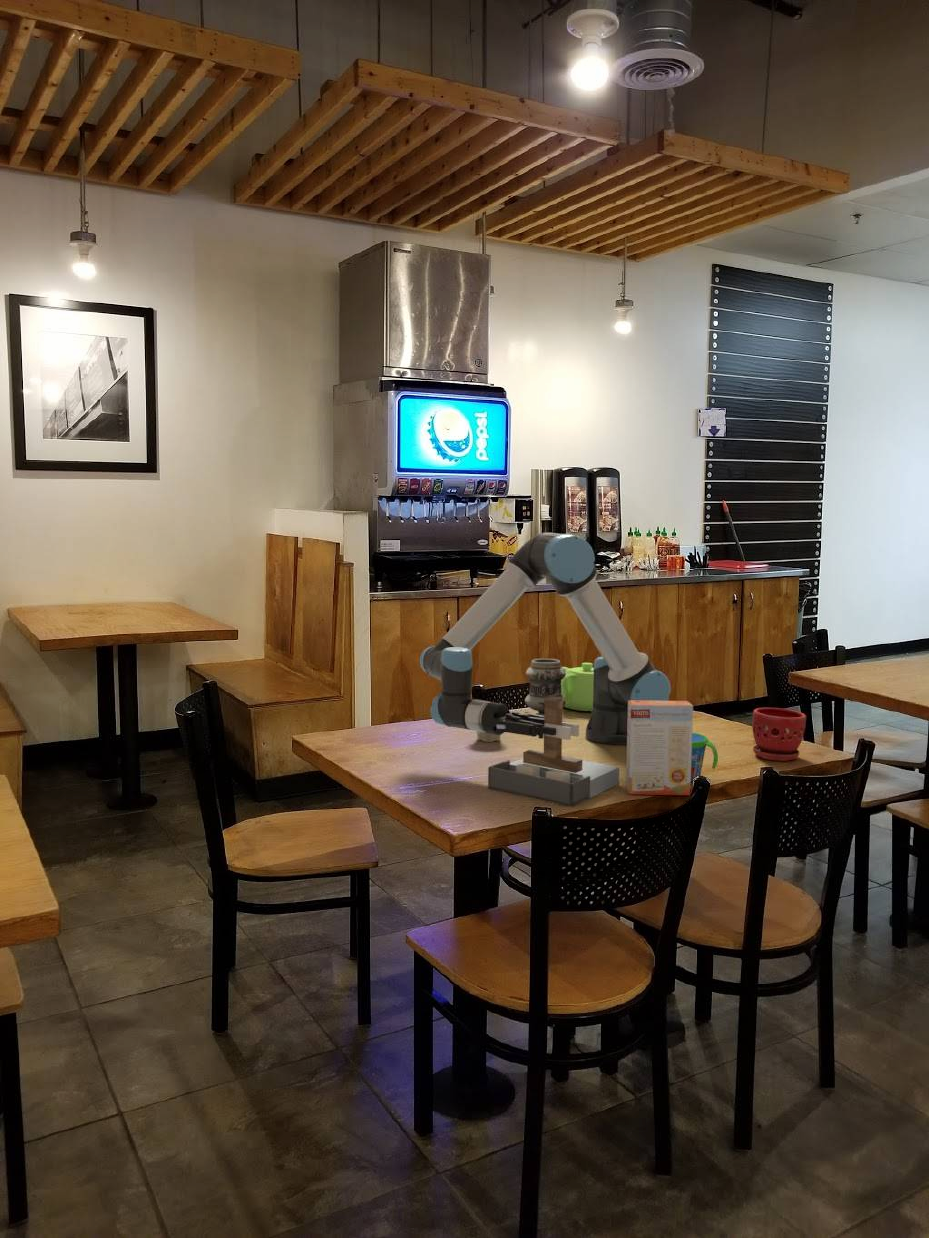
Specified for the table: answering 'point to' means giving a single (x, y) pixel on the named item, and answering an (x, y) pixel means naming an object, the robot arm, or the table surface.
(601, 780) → the board
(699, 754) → the snack cup
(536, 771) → the tile
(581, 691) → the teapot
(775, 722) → the plant pot
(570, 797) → the box
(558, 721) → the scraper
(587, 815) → the table surface
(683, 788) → the cracker box
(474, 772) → the table surface
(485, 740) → the flower pot
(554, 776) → the tile
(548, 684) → the apothecary jar
